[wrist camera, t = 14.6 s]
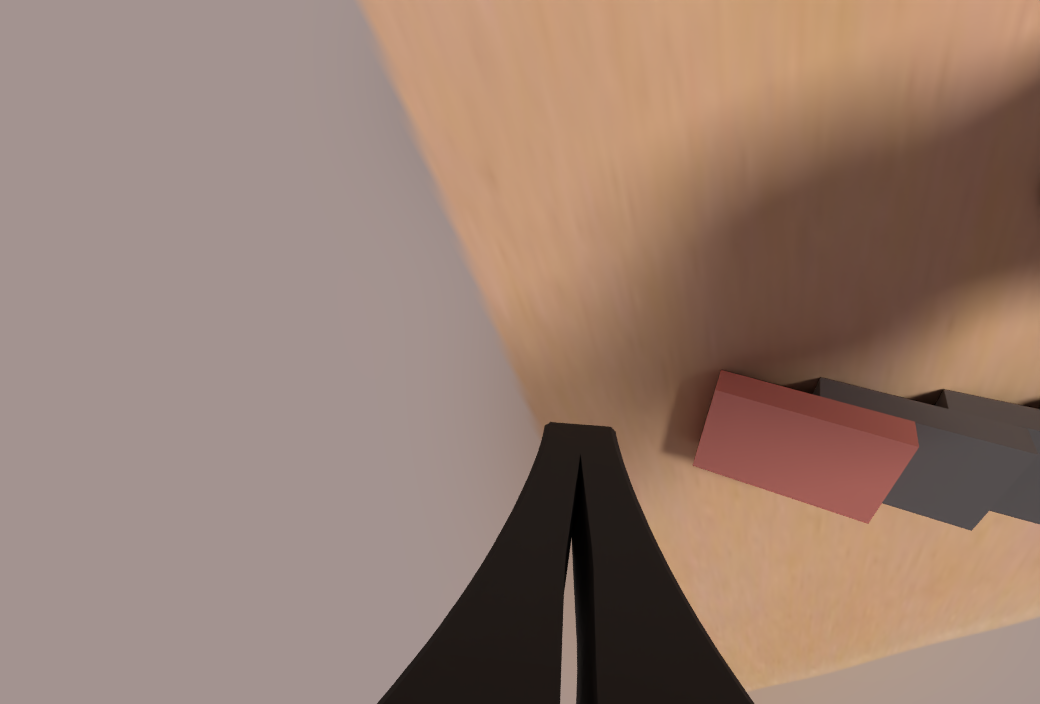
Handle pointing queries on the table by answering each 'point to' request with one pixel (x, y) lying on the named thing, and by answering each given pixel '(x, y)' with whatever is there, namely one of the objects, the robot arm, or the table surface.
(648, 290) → the table surface
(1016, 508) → the domino
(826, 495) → the red domino
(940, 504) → the domino
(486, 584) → the robot arm
